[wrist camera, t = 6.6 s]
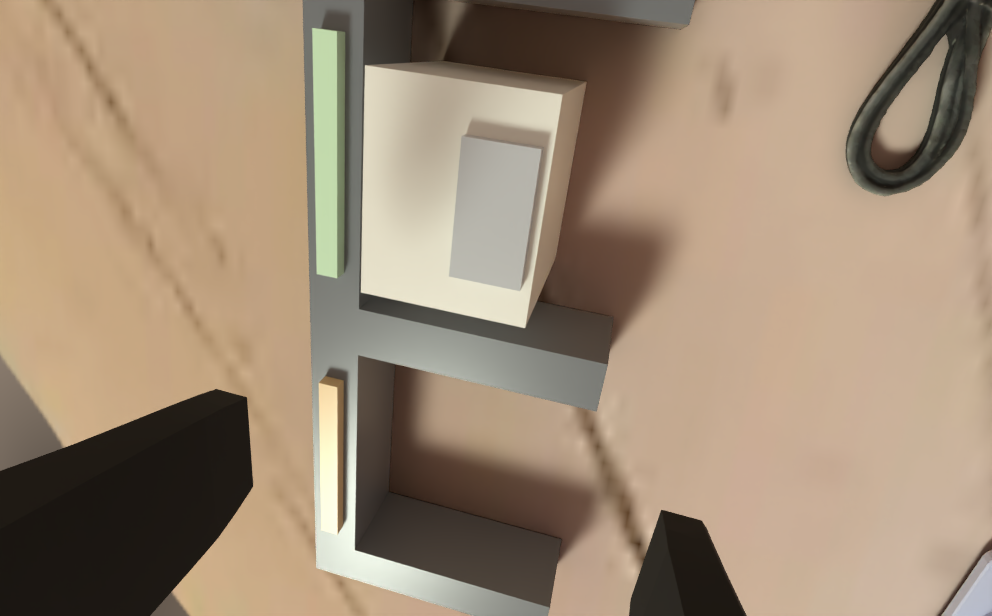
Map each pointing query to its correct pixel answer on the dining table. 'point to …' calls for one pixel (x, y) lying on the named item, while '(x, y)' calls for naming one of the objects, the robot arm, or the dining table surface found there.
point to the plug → (465, 185)
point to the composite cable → (967, 23)
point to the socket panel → (419, 342)
